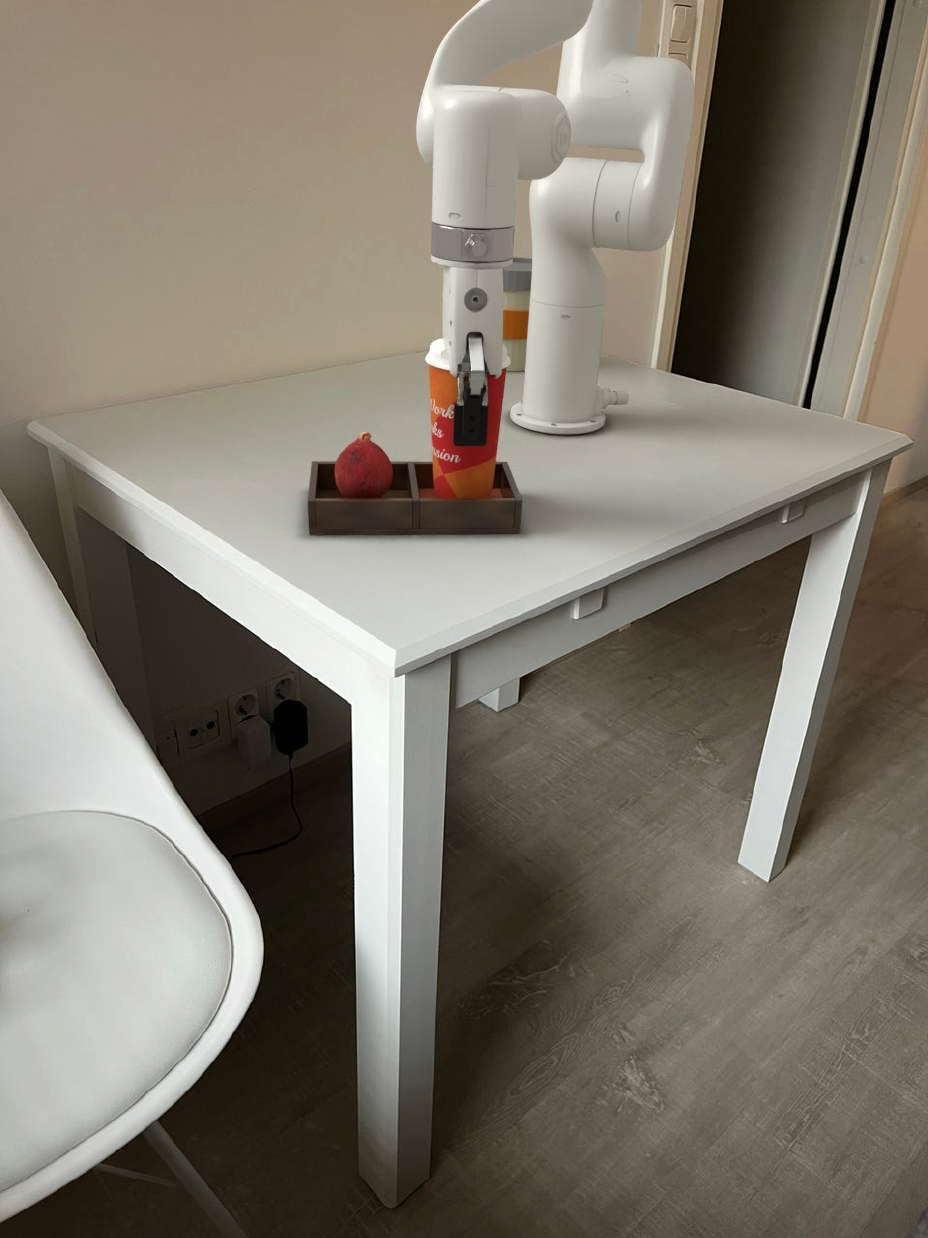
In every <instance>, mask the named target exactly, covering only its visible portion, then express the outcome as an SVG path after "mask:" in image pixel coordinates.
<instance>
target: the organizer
mask: <svg viewBox="0 0 928 1238" xmlns="http://www.w3.org/2000/svg"><path fill="white" fill-rule="evenodd" d="M336 461H337V460H334V461H333V460H332V461H331V460H329V461H327V460H326V461H324V460H323V461H322V460H319V461H317V460H313V461H311V465H310V475H309V484H308V495H307V520H308V535H310V536H327V535H329V536H332V535H333V536H336V535H339V536H340V535H341V536H343V535H346V536H347V535H348V536H349V535H351V536H353V535H355V536H356V535H487V534H488V535H503V534H505V535H506V534H507V535H513V534H514V535H515V534H516V535H517V534H521V527H522V525H521V524H522V512H523V499H522V496H521V494H520V491H519V488H518V485H517V483H516V480H515V477H514V475H513V472H512V470H511V467H510V465H509V462H508V461H496V464H495V472H494V480H493V487H492V492H491V495H490V496H489V497H488V498H440V497H439V496H437V495H436V493H435V491H434V479H433V461H401V460H400V461H399V460H398V461H394V460H393V461H391V460H390V462H391V465H392V468H393V478H392V483H391V484H390V486H389V488H388V490H387V492H386V493H385V494H384V495H383V496H382V497H381V498H346V497H345V496H344V495H343V494H342V493H341V492H340V490H339V488H338V487H337V485H336V479H335V464H336Z"/></svg>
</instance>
